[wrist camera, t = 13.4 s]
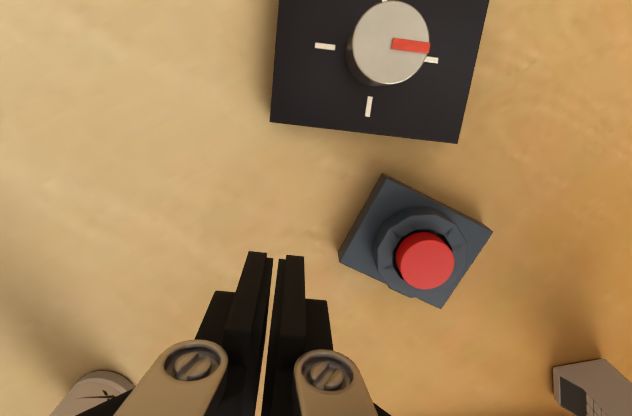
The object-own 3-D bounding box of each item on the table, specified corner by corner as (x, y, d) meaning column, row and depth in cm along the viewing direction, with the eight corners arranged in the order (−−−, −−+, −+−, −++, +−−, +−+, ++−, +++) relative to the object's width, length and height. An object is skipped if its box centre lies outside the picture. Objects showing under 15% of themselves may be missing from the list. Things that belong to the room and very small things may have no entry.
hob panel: (273, 119, 30) (269, 122, 27) (285, -39, 27) (282, -53, 24) (446, 140, 30) (458, 144, 28) (478, -13, 27) (495, -24, 25)
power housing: (337, 252, 33) (340, 273, 29) (382, 172, 31) (391, 183, 27) (434, 297, 34) (449, 323, 31) (483, 223, 32) (505, 240, 28)
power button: (385, 266, 29) (390, 276, 28) (412, 222, 28) (418, 231, 27) (429, 286, 30) (436, 297, 28) (456, 244, 29) (465, 254, 27)
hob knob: (340, 82, 27) (347, 78, 21) (350, 13, 25) (359, -7, 20) (401, 90, 27) (422, 88, 22) (414, 22, 25) (439, 4, 20)
